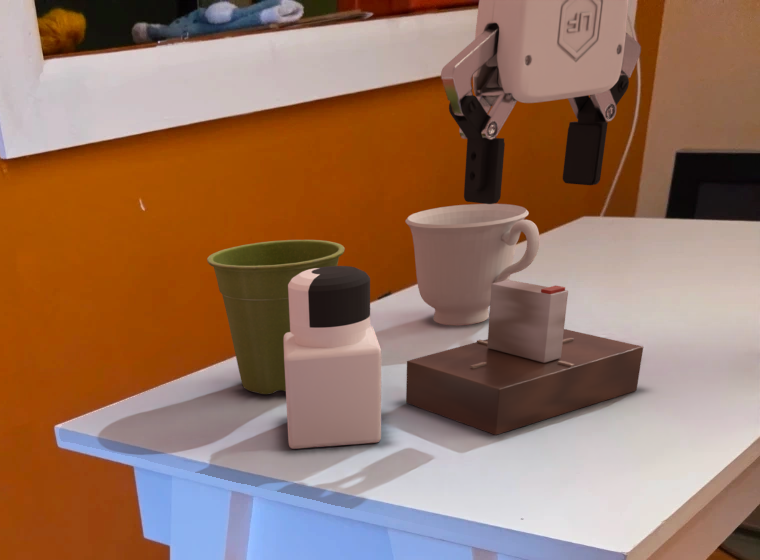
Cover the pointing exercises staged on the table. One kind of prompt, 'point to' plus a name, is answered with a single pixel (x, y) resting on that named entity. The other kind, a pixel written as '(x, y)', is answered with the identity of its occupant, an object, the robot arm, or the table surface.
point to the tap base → (521, 381)
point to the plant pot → (264, 301)
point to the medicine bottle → (331, 360)
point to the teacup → (468, 256)
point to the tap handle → (527, 320)
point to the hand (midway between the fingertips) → (532, 192)
